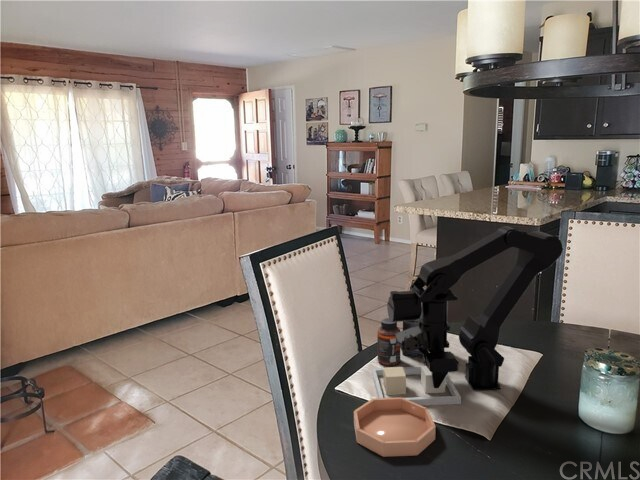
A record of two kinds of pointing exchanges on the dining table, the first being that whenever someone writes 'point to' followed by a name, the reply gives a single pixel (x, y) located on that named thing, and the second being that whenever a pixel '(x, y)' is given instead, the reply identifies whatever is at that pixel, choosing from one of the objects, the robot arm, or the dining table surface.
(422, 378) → the pale stone
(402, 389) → the sand stone
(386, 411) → the bowl
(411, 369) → the tray
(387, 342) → the supplement bottle
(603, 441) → the dining table surface
